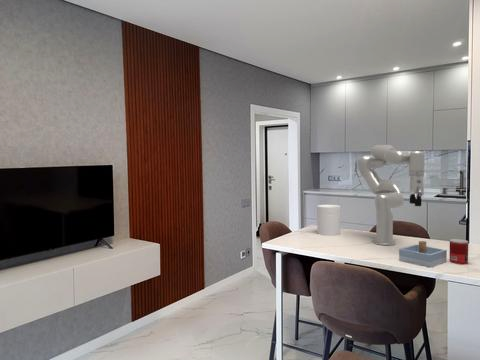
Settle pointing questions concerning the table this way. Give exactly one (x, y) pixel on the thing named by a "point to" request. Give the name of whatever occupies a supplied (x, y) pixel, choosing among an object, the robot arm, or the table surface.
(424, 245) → the walnut peg
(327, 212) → the canister
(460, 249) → the canned food
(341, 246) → the table surface
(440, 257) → the slate box
